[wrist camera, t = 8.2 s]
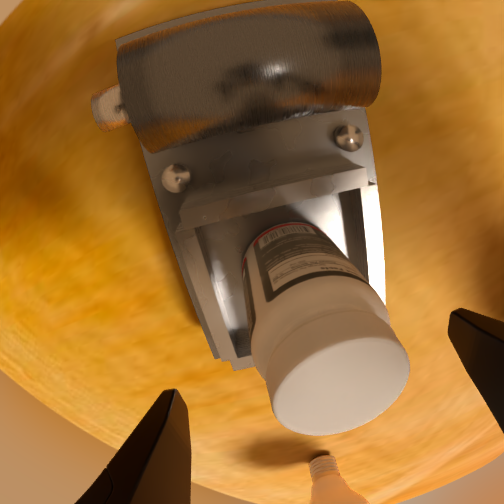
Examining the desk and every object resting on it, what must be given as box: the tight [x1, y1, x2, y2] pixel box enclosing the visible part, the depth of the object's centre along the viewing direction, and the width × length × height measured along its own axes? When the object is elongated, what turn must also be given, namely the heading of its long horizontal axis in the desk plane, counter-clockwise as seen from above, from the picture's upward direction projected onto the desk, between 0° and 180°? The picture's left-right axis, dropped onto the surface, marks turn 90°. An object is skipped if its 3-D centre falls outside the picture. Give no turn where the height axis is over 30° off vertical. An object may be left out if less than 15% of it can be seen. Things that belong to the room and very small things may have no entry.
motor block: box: [91, 0, 385, 371], centre depth 13 cm, size 17×11×7 cm, turn 13°
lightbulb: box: [309, 455, 370, 504], centre depth 22 cm, size 6×6×11 cm
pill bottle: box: [242, 222, 410, 436], centre depth 12 cm, size 5×5×8 cm
